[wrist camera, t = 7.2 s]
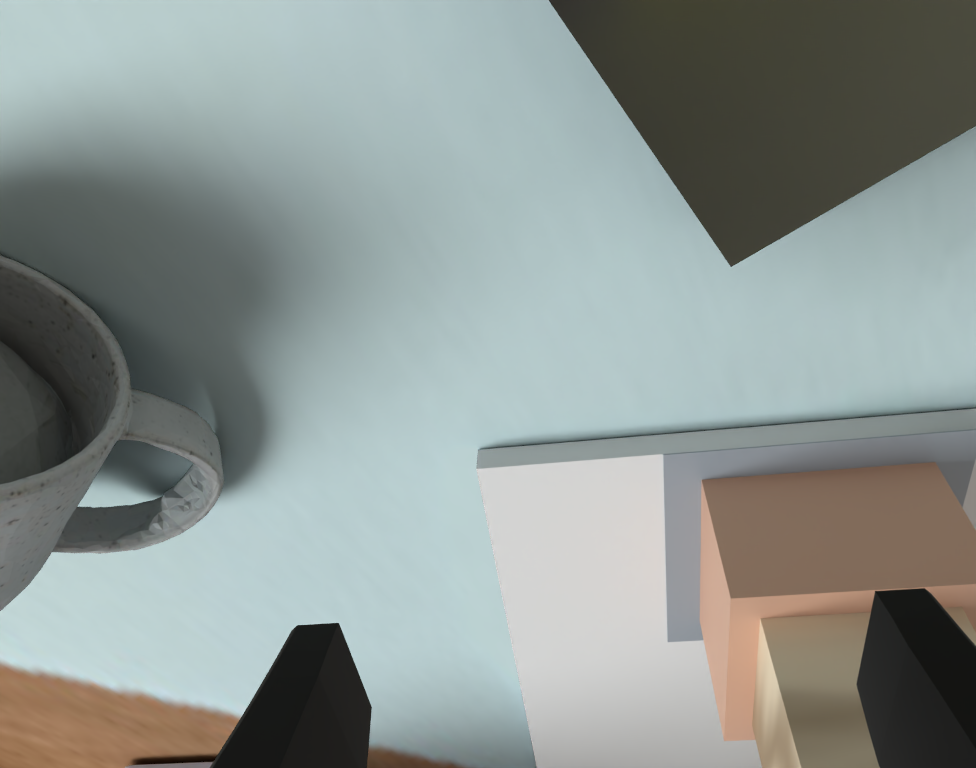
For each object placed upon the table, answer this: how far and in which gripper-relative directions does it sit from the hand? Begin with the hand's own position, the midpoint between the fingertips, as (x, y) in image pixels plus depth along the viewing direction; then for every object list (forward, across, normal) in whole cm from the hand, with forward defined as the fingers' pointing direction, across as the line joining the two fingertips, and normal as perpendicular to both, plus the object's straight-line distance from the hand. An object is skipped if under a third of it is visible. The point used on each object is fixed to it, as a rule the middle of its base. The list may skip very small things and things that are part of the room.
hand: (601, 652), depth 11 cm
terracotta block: (+10, -6, +9) cm, 14 cm away
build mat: (+10, -4, +14) cm, 18 cm away
